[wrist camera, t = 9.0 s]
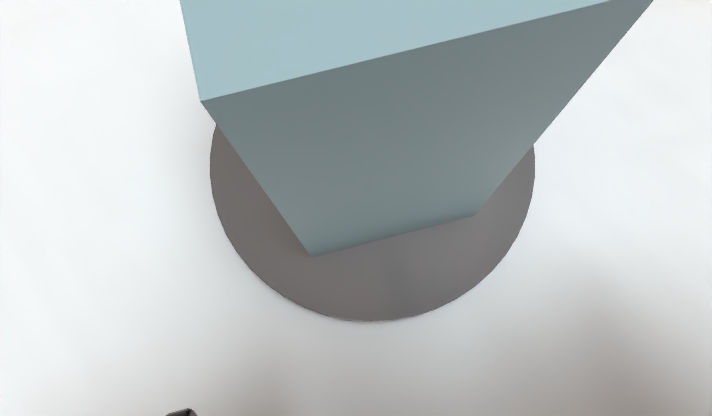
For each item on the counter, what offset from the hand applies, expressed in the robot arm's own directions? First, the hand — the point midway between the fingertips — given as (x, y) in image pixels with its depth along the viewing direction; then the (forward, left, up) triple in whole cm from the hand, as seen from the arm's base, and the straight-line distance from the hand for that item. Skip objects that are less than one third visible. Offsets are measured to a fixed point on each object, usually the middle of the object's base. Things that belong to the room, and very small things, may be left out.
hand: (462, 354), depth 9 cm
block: (+3, +5, -7) cm, 9 cm away
